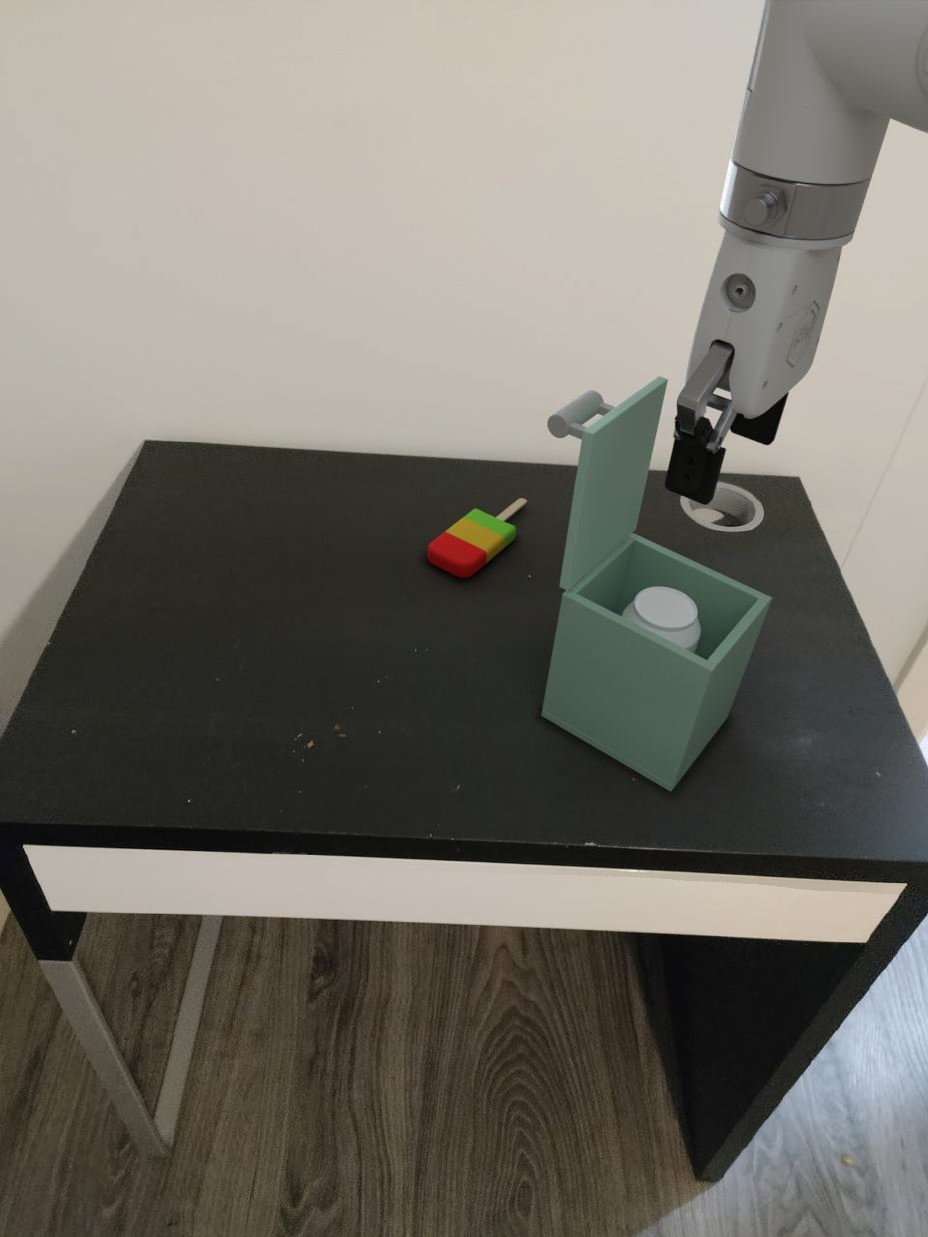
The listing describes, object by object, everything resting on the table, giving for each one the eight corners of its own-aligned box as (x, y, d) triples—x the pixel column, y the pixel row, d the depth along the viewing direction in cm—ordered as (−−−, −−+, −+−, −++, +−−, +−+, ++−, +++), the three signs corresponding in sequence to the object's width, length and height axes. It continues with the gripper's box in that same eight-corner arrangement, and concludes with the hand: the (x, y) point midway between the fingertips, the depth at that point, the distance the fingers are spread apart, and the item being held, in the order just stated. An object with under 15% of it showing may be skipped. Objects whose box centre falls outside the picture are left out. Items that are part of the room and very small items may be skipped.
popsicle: (421, 561, 95) (422, 546, 93) (502, 497, 104) (504, 483, 103) (466, 583, 92) (467, 568, 91) (544, 516, 102) (546, 501, 101)
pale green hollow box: (727, 717, 81) (772, 597, 72) (670, 792, 75) (712, 671, 65) (604, 651, 86) (631, 531, 77) (540, 715, 80) (562, 593, 71)
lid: (668, 378, 68) (607, 356, 70) (593, 434, 61) (528, 407, 64) (636, 529, 77) (583, 505, 79) (567, 591, 70) (511, 563, 72)
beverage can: (678, 696, 81) (710, 591, 74) (667, 747, 77) (701, 641, 69) (608, 678, 83) (633, 573, 75) (594, 727, 78) (619, 621, 70)
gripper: (795, 258, 45) (714, 545, 56) (907, 182, 55) (820, 435, 67) (657, 220, 48) (607, 498, 59) (788, 155, 59) (725, 401, 70)
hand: (720, 465), depth 63 cm, fingers open, 9 cm apart
